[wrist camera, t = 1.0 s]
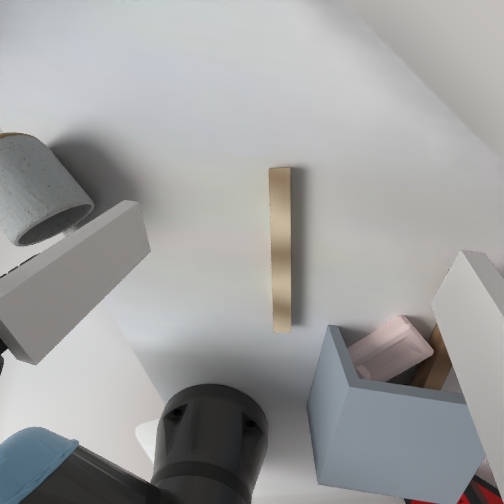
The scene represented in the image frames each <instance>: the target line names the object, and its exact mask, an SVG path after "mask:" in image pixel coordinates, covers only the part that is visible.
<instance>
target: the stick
mask: <svg viewBox="0 0 504 504" xmlns="http://www.w3.org/2000/svg"><path fill="white" fill-rule="evenodd" d="M269 195H270V228H271V261H272V294H273V327H274V333H291V201H290V167H283V168H269Z"/></svg>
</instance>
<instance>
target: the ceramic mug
mask: <svg viewBox="0 0 504 504" xmlns="http://www.w3.org/2000/svg"><path fill="white" fill-rule="evenodd" d="M94 206H95V205H94V202H93V201H92V199H91V198H90V197H89V196H88V195H87V194H86V192H85V191H84V190H83V189H82V188H81V186H80V185H79V184H78V183H77V182H76V180H75V179H74V178H73V177H72V176H71V174H70V173H69V172H68V171H67V170H66V168H65V167H64V166H63V165H62V164H61V162H60V161H59V160H58V159H57V157H56V156H55V155H54V154H53V152H52V151H51V150H50V149H49V148H48V147H46V146H45V145H44V144H43V143H42V142H41V141H40V140H38V139H37V138H35V137H34V136H31V135H27V134H23V133H2V134H0V229H1V230H2V232H3V233H4V234H5V236H6V237H7V238H8V239H9V240H10V241H11V242H12V243H13V244H14V245H15V246H28V245H33V244H36V243H39V242H41V241H44V240H46V239H49V238H51V237H53V236H55V235H57V234H59V233H61V232H63V231H65V230H67V229H69V228H70V227H72V226H74V225H75V224H76V223H78V222H79V221H81V220H83V219H84V218H85V217H86V216H87V215H89V214H90V212H92V210H93V208H94Z"/></svg>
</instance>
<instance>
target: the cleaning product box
mask: <svg viewBox="0 0 504 504" xmlns="http://www.w3.org/2000/svg"><path fill="white" fill-rule="evenodd" d="M404 500H405V503H406V504H438V503H431V502H425V501H419V500H413V499H406V498H404ZM457 504H504V503H503V500H502V498H501V495H500V492H499V490H498V489H496V488H495V487H493V486H492V485H490V484H489V483H487V482H486V481H484V480H482V479H481V478H479V477H478V476H476V475H475V474H474V476H473V477H472V479H471V481H470V482H469V484H468V486H467V487H466V489H465V491H464V492H463V494H462V496H461V497H460V499H459V501H458V502H457Z"/></svg>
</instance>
